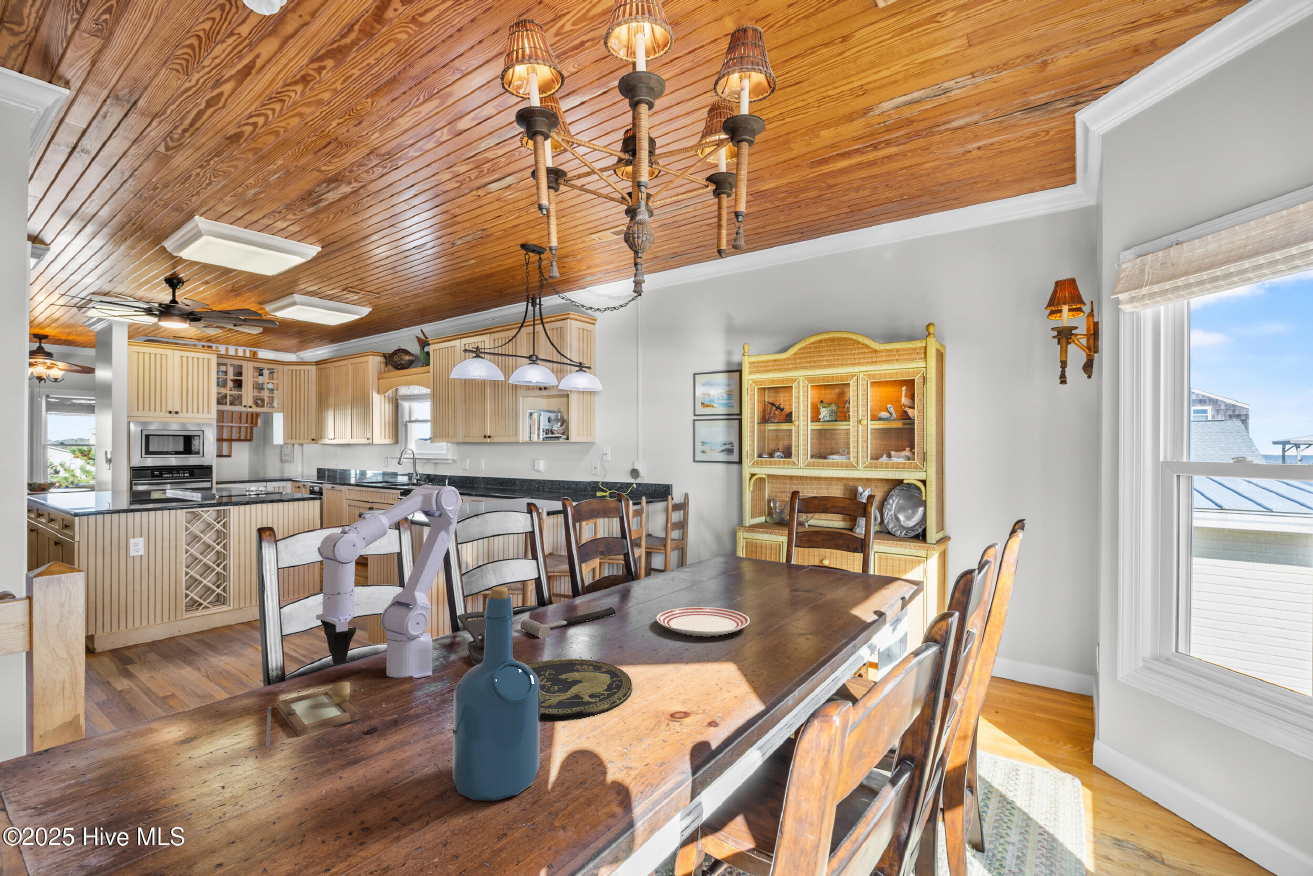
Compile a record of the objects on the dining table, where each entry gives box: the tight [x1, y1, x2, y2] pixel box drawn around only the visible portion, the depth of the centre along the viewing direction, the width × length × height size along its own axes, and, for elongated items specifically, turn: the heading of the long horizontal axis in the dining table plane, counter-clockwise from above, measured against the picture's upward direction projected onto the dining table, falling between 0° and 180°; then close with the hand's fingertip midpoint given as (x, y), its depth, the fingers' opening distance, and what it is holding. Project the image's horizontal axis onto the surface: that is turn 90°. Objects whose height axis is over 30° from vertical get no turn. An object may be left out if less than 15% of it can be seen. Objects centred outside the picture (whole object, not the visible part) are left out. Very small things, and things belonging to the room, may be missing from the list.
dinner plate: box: [655, 606, 751, 638], centre depth 172 cm, size 28×27×3 cm
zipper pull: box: [457, 611, 486, 666], centre depth 152 cm, size 9×7×25 cm
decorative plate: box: [525, 658, 633, 722], centre depth 127 cm, size 30×2×30 cm
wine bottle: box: [451, 586, 541, 801], centre depth 92 cm, size 14×13×30 cm
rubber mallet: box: [520, 606, 617, 639], centre depth 174 cm, size 10×4×30 cm
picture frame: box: [275, 681, 360, 738], centre depth 112 cm, size 11×16×4 cm
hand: (337, 657), depth 121 cm, fingers open, 7 cm apart
